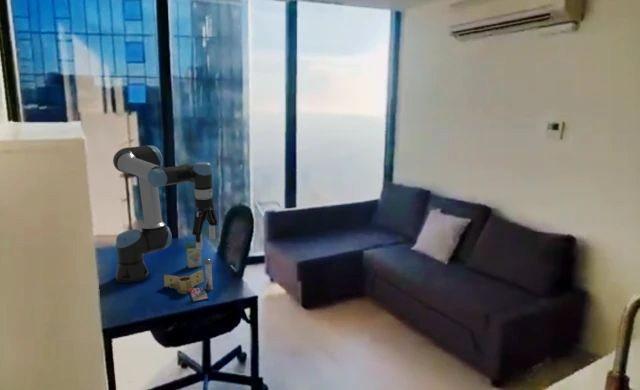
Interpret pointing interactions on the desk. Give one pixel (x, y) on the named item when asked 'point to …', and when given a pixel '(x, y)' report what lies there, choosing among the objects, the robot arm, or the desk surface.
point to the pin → (208, 274)
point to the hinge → (184, 282)
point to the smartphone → (199, 294)
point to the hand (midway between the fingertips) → (206, 243)
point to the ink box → (193, 255)
